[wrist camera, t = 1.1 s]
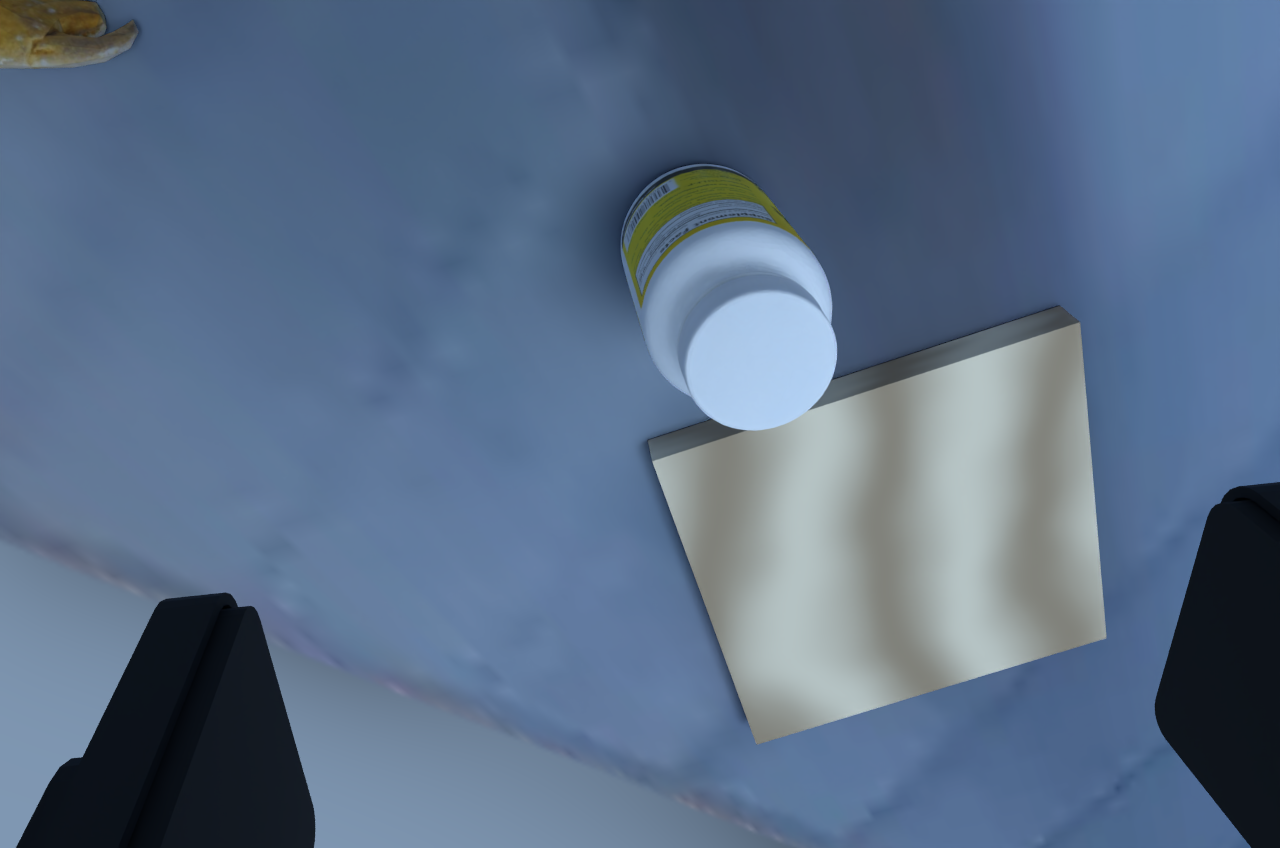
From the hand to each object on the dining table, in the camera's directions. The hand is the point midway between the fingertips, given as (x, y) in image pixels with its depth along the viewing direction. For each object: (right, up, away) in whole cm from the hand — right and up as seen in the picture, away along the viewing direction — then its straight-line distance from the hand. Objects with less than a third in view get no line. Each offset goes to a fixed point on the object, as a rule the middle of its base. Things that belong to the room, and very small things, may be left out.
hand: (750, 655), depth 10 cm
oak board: (+9, -2, +31) cm, 32 cm away
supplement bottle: (+1, +9, +24) cm, 25 cm away
